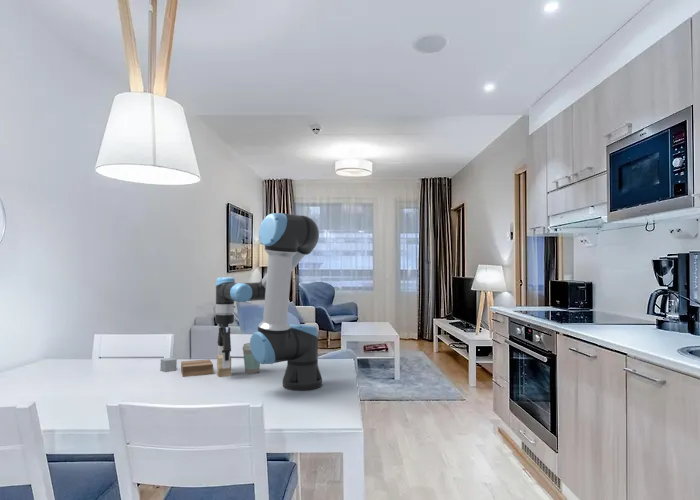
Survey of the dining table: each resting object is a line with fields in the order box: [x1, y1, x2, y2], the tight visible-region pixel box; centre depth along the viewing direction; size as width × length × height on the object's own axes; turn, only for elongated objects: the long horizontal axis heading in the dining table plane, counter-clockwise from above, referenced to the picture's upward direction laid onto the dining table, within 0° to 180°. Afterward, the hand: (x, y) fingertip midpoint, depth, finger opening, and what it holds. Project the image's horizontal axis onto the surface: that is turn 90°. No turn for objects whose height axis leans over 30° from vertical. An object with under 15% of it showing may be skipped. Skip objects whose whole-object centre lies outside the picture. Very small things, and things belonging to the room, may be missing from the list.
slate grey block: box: [160, 357, 178, 373], centre depth 197 cm, size 5×5×5 cm
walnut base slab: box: [180, 359, 214, 378], centre depth 193 cm, size 12×12×4 cm
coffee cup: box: [242, 342, 261, 374], centre depth 194 cm, size 8×8×12 cm
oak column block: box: [216, 354, 232, 378], centre depth 188 cm, size 5×5×8 cm
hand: (223, 364), depth 188 cm, fingers open, 13 cm apart
